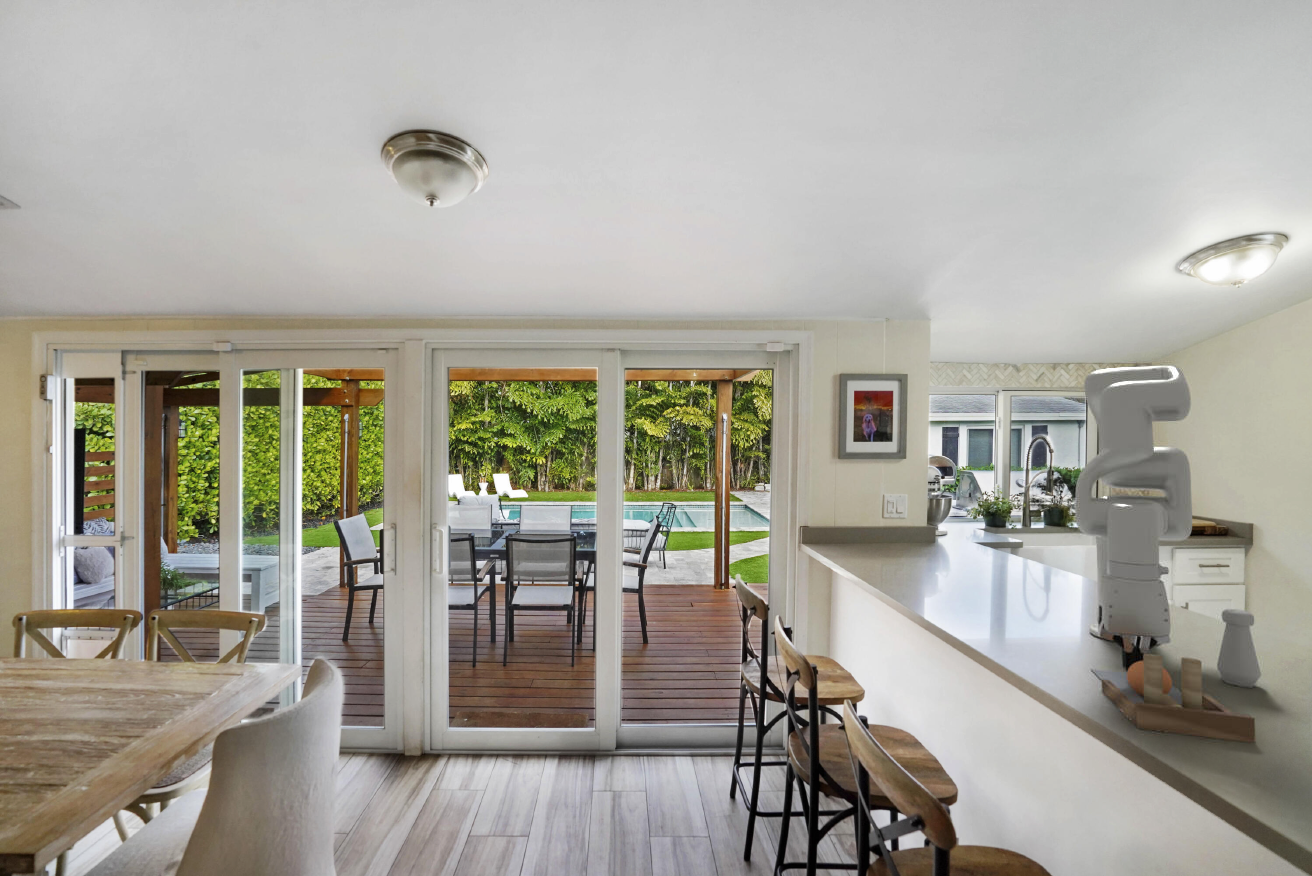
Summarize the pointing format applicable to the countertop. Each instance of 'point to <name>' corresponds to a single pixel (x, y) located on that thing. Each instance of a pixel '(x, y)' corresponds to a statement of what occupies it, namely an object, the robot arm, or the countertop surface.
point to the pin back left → (1191, 683)
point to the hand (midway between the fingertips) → (1133, 672)
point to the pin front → (1169, 701)
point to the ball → (1137, 678)
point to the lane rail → (1185, 717)
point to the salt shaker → (1238, 650)
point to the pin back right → (1153, 679)
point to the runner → (1123, 685)
